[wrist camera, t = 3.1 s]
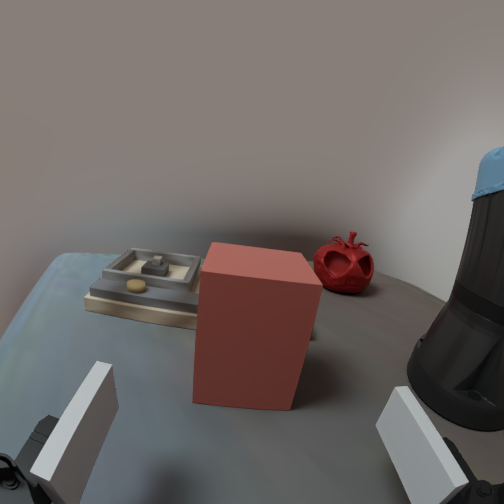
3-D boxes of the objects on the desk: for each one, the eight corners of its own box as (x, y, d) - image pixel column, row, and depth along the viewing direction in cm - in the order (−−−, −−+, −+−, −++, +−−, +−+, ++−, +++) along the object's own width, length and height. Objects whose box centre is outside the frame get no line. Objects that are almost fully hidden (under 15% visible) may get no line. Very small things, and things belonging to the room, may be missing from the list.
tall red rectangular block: (279, 358, 26) (301, 253, 24) (289, 410, 20) (323, 285, 17) (202, 350, 26) (212, 241, 24) (192, 402, 19) (200, 270, 17)
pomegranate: (306, 274, 53) (315, 222, 51) (359, 280, 53) (369, 230, 51) (314, 294, 43) (325, 231, 41) (376, 301, 43) (390, 241, 41)
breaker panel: (287, 285, 46) (291, 263, 45) (308, 340, 30) (316, 311, 29) (131, 265, 44) (132, 243, 43) (84, 309, 29) (82, 279, 28)
